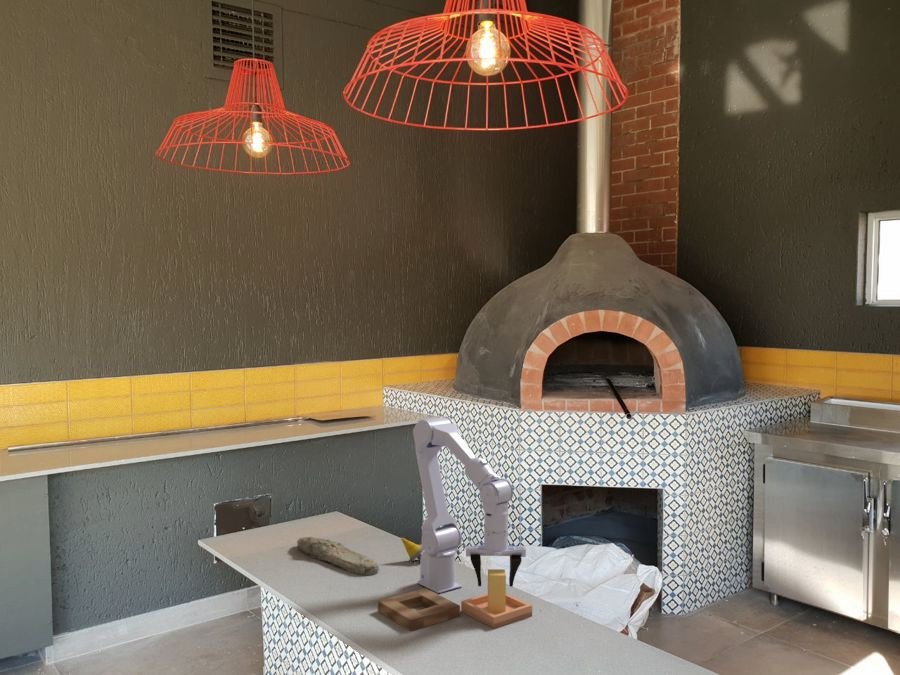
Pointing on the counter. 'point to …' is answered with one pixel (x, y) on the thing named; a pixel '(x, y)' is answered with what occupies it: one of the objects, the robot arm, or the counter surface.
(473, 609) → the tray
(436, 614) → the socket block
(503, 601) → the peg
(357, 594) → the counter surface
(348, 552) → the long grey stone
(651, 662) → the counter surface
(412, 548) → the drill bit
